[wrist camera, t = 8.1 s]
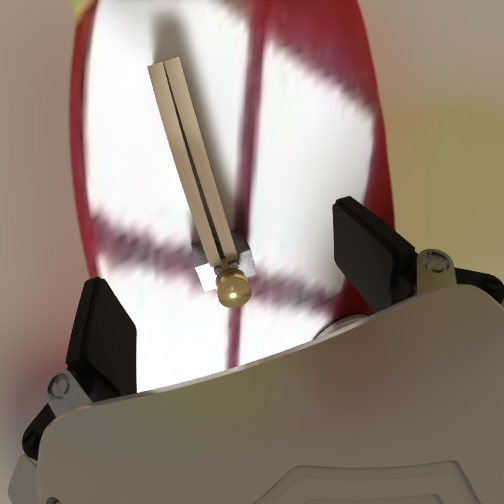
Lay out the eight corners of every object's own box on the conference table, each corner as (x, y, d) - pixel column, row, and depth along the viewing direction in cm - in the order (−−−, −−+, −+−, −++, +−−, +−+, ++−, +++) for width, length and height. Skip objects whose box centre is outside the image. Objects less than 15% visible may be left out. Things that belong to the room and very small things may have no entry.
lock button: (242, 263, 24) (247, 277, 23) (248, 286, 26) (254, 301, 24) (210, 273, 24) (214, 288, 23) (219, 296, 26) (223, 311, 24)
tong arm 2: (164, 67, 18) (162, 61, 14) (212, 234, 28) (221, 264, 24) (152, 71, 18) (147, 66, 14) (203, 237, 28) (210, 267, 24)
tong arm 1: (177, 63, 18) (179, 56, 14) (226, 229, 28) (238, 258, 24) (165, 67, 18) (163, 61, 14) (217, 233, 28) (226, 262, 24)
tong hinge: (240, 228, 29) (251, 252, 25) (246, 251, 31) (258, 276, 27) (191, 244, 28) (195, 270, 25) (200, 266, 30) (205, 294, 27)
